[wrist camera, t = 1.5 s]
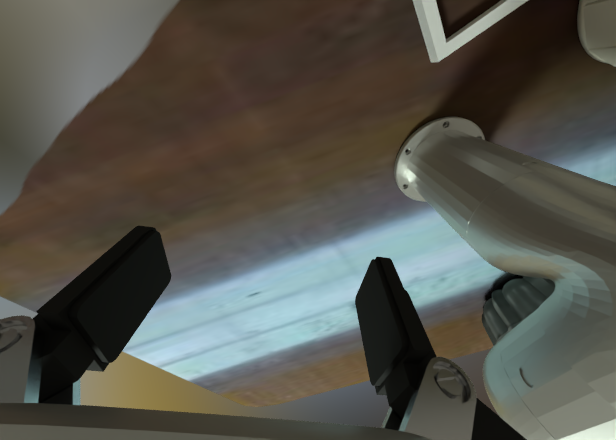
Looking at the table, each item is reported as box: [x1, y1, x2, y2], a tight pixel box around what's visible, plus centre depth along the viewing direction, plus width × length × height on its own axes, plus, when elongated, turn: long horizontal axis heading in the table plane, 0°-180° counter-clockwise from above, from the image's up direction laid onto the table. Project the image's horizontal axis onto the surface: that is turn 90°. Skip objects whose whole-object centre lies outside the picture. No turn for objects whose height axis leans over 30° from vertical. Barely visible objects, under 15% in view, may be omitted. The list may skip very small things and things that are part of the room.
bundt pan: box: [482, 276, 555, 345], centre depth 47 cm, size 26×26×10 cm
